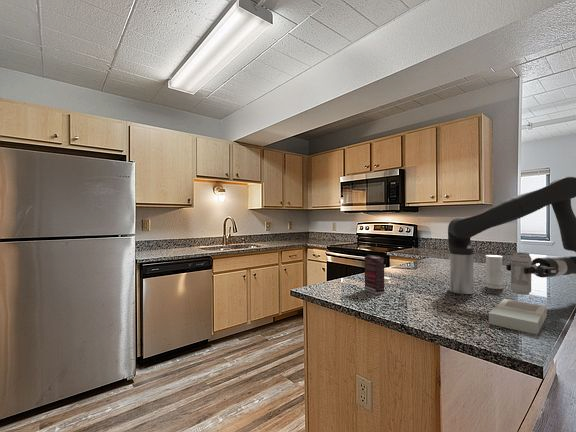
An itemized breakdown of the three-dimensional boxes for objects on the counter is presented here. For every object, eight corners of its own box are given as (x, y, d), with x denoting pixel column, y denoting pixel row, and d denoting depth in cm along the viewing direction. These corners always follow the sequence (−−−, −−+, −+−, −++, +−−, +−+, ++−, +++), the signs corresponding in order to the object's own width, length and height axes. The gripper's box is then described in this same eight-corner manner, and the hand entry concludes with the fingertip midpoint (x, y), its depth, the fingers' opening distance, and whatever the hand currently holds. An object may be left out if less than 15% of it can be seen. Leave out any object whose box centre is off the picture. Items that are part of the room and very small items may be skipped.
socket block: (488, 323, 95) (488, 312, 94) (504, 308, 110) (504, 298, 110) (537, 334, 86) (537, 322, 86) (546, 316, 101) (546, 306, 101)
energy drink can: (534, 293, 110) (534, 253, 110) (526, 296, 107) (527, 254, 106) (515, 289, 115) (515, 251, 115) (507, 292, 112) (508, 252, 112)
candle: (481, 286, 143) (481, 255, 143) (493, 285, 144) (493, 254, 144) (494, 289, 136) (494, 257, 136) (506, 288, 138) (506, 256, 138)
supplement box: (385, 293, 131) (384, 257, 131) (376, 294, 129) (376, 258, 129) (372, 288, 139) (372, 255, 139) (364, 290, 137) (363, 256, 137)
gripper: (529, 254, 121) (497, 256, 117) (570, 260, 108) (536, 262, 103) (529, 272, 121) (497, 275, 117) (570, 280, 108) (536, 283, 103)
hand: (516, 269), depth 110 cm, fingers closed on energy drink can, 6 cm apart
